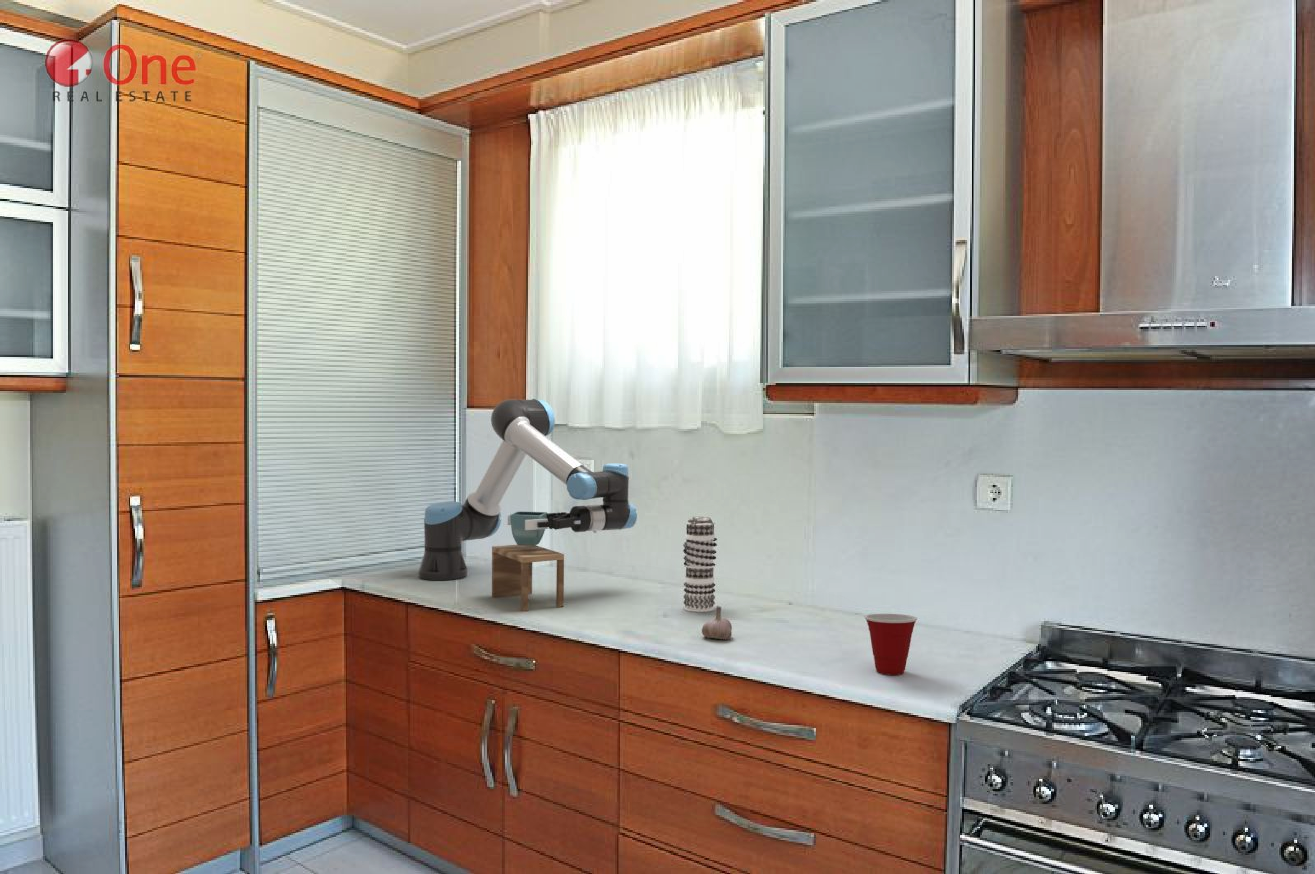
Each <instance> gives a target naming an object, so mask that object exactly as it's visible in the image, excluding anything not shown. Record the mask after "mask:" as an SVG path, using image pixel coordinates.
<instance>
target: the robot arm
mask: <svg viewBox="0 0 1315 874" xmlns="http://www.w3.org/2000/svg"><path fill="white" fill-rule="evenodd" d="M490 417H491V418H490V421H491V427H492V429H493V431H494V432H495V434H496V435H497V436H498V437H499V438H500V439H501V440H502V441H501V444H500V445H499V447H498V448H497V451H496V453H495V455H494V456H493V459H492V461H491V462H490V464H489V465H488V468H487V470H486V472H485V474H484V476H483V478H482V479H481V481H480V483H479V485H478V486H477V489H476V490H475V491H474V492H471V493H469V494H468V496H467V498H466V499H465V501H464V503H463V504H462V503H461V502H459V501H445V502H441V501H440V502H437V503H433V504H430V505H428V506H427V507H426V509H425V510H424V518H423V522H424V525H423V527H424V553H423V557H422V559H421V561H420V566H419V568H418V578H420V579H422V580H426V581H427V580H429V581H453V580H459V579H460V580H461V579H464V578H466V577H467V576H468V567H467V563H466V561H465V558H464V555H463V552H462V548H463V547H462V546H463V545H462V544H463V543H462V542H465V541H466V542H467V541H472V540H473V541H474V540H481V539H486V538H489V537H491V536H493V535H495V534H496V533H497V532H498V531H499V529H500V527H501V524H502V523H501V522H502V519H501V517H502V514H501V510H502V509H501V506H500V503H501V502H502V500H503V498H504V495H505V494H506V492H507V490H508V489H509V487H510V485H511V483H512V482H513V479H514V478H515V475H516V474H517V471H518V470H519V468H520V466H521V465H522V463H523V461H524V459H525V458H526V455H527V456H528V457H530V458H531V459H533V460H534V461H535V462H536V463H538V465H540V466H542V468H544V469H545V470H547V471H548V472H549V473H550V474H552V475H553V476H554V477H555V478H557V479H558V480H559V481H560V482H562V483H563V484H564V485H566V490H567V491H568V494H569V496H570V497H571V498H572V499H574V500H581V501H587V500H593V499H599V498H602V504H589V505H587V504H586V505H574V506H572V508H571V509H570V510H569V512H566V511H565V512H564V511H563V512H562V511H561V512H547V519H534V520H525V530H537V529H545V530H549V529H550V530H552V529H553V530H556V531H558V530H560V529H561V530H562V529H569V528H571V530H572V531H573V532H574V533H583V532H584V533H585V532H586V533H587V532H593V533H594V534H596V533H597V531H612V530H613V531H614V530H615V531H616V530H617V531H618V530H619V531H621V530H625V529H631V528H633V527H634V526H635V524H637V523H636V522H637V519H638V513H637V509H636V507H635V505H634V504H632V503H629V501H630V500H629V483H630V481H629V479H630V476H629V466H628V465H627V464H625V463H606V464H603V468H602V471H591V470H590V469H589V468H588V467H586V466H585V465H583V464H582V463H581V462H579V461H578V460H577V459H575V458H574V457H573V456H572V455H570V454H569V453H567V452H566V451H565V450H564V449H562V448H561V447H560V446H558V445H557V444H556V443H554V442H553V441H552V440H550V438H548V437H547V436H549V435H550V434H551V433H552V432H553V430H554V428H555V423H556V416H555V413H554V410H553V408H552V405H550V403H548V402H547V401H545V400H541V399H536V398H532V399H519V398H516V399H515V398H509V399H504V400H503V401H500V402H499V403H497V405H496V406H495V407H494V408H493V410H492V413H491V416H490ZM506 522H507V526H511V520H510V514H507V521H506Z"/></svg>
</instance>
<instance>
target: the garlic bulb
mask: <svg viewBox="0 0 1315 874" xmlns="http://www.w3.org/2000/svg"><path fill="white" fill-rule="evenodd" d="M715 609H716V611H715V618H713V619H712V620H708V621H706V622H705V623H704V624H703V626H702V629H701V634H702V636H703V637H704V638H706V637H707V639H710V638H715V639H714V640H722V639H723V640H724V639H725V640H724V641H729V640H730V639H731V638H732V634H733V633H732V630H733V626H732V623H731V622H730V620H729V619H728V618H724V617H722V612H721V611H722V606H720V605H716V607H715Z"/></svg>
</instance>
